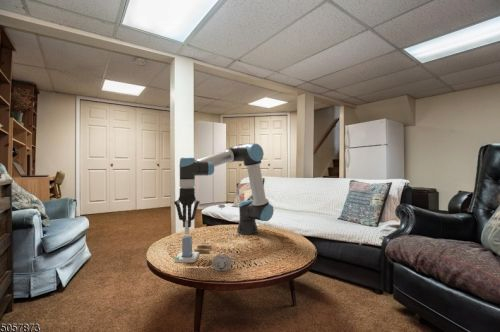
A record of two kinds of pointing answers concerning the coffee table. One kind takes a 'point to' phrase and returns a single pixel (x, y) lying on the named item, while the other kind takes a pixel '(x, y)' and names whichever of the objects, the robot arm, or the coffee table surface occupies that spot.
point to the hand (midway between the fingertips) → (186, 233)
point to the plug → (187, 246)
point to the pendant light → (221, 258)
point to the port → (186, 259)
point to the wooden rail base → (203, 249)
